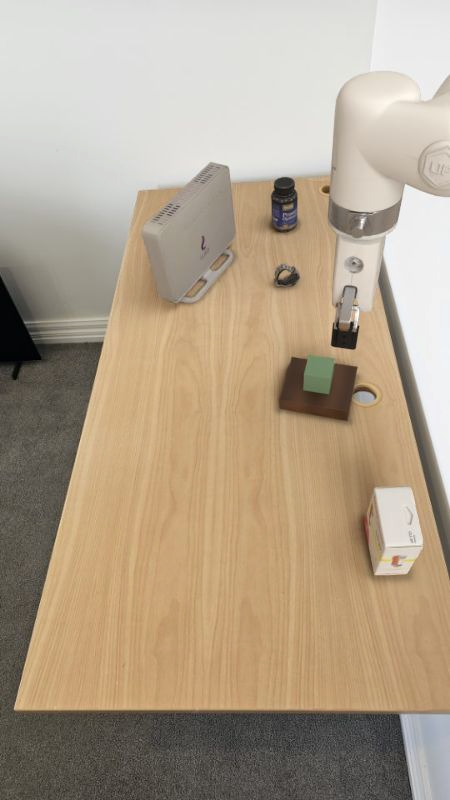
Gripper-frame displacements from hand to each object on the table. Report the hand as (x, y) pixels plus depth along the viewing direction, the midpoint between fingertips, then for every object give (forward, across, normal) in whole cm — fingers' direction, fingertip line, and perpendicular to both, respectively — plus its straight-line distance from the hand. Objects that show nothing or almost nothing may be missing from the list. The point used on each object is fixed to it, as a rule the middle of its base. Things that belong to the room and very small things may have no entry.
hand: (349, 320), depth 68 cm
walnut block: (+24, +5, +4) cm, 25 cm away
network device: (+24, +32, +36) cm, 54 cm away
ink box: (+24, -21, -10) cm, 34 cm away
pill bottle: (+24, +53, +21) cm, 62 cm away
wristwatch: (+24, +33, +16) cm, 44 cm away
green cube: (+21, +5, +4) cm, 22 cm away
